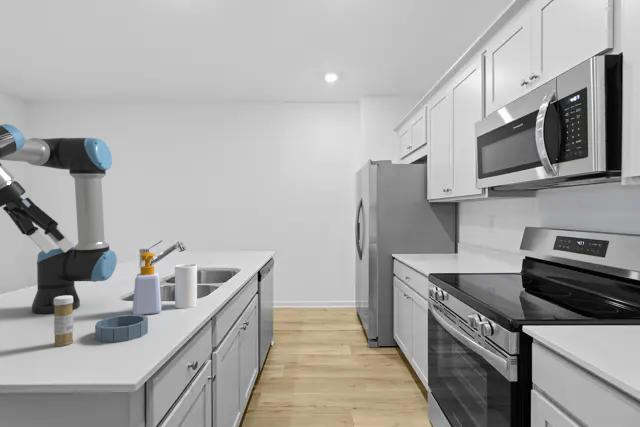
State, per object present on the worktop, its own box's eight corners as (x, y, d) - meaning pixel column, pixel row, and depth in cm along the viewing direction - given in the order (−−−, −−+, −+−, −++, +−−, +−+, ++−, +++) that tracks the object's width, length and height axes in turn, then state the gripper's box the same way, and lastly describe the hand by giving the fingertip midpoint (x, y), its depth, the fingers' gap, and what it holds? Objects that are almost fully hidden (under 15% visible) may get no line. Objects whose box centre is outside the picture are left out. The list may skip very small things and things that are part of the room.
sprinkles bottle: (66, 340, 110) (66, 294, 110) (76, 342, 108) (76, 295, 108) (50, 345, 106) (50, 297, 106) (60, 347, 104) (60, 299, 104)
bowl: (87, 335, 114) (87, 322, 114) (133, 324, 125) (133, 312, 125) (109, 345, 106) (109, 331, 105) (156, 332, 117) (156, 319, 117)
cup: (184, 309, 144) (184, 267, 144) (170, 306, 148) (170, 265, 148) (201, 305, 151) (201, 265, 151) (187, 302, 155) (187, 263, 155)
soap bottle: (130, 319, 130) (130, 255, 130) (134, 309, 143) (134, 251, 143) (160, 317, 134) (160, 254, 134) (161, 307, 147) (161, 250, 146)
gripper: (-28, 200, 102) (31, 259, 111) (0, 189, 87) (65, 258, 97) (0, 185, 107) (54, 242, 116) (31, 172, 92) (90, 239, 102)
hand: (59, 250), depth 106 cm, fingers open, 13 cm apart
